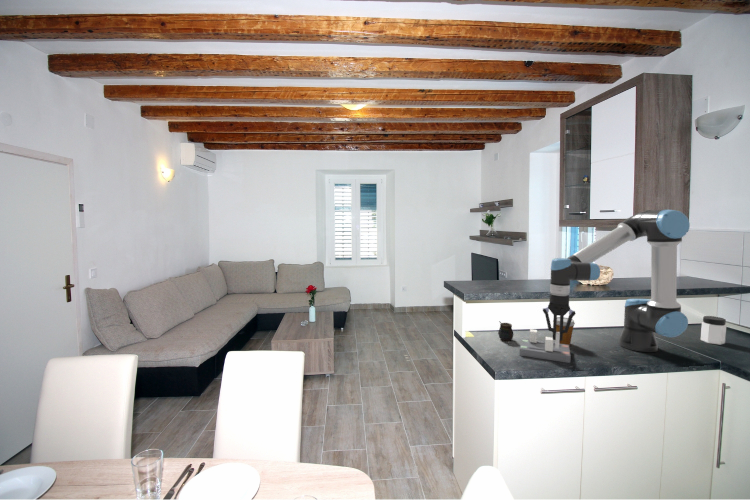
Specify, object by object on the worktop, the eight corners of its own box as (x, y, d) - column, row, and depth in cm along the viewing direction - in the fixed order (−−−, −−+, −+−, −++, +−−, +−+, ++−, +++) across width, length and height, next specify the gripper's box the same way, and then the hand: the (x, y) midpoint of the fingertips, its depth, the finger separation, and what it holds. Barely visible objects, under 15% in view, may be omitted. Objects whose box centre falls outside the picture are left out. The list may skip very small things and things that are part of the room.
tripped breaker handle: (552, 348, 161) (553, 337, 161) (552, 351, 158) (553, 340, 157) (545, 347, 162) (545, 336, 162) (545, 350, 159) (545, 339, 158)
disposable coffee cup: (576, 347, 172) (577, 322, 171) (555, 346, 174) (556, 321, 173) (570, 340, 182) (571, 317, 180) (549, 339, 183) (550, 316, 182)
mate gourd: (516, 340, 182) (517, 321, 181) (505, 343, 179) (505, 323, 178) (506, 336, 188) (506, 317, 187) (494, 338, 185) (495, 319, 184)
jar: (706, 337, 185) (708, 314, 184) (727, 342, 178) (729, 318, 177) (697, 340, 181) (699, 317, 180) (718, 345, 174) (720, 321, 173)
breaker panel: (568, 351, 168) (568, 344, 167) (570, 362, 154) (570, 355, 154) (521, 344, 176) (522, 338, 176) (519, 355, 163) (519, 348, 162)
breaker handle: (536, 340, 172) (537, 329, 172) (536, 342, 169) (536, 332, 168) (529, 339, 173) (530, 329, 173) (529, 341, 170) (529, 331, 169)
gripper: (542, 294, 156) (540, 347, 158) (577, 297, 150) (574, 352, 152) (543, 291, 162) (540, 342, 165) (576, 293, 157) (573, 346, 159)
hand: (557, 347), depth 158 cm, fingers closed
